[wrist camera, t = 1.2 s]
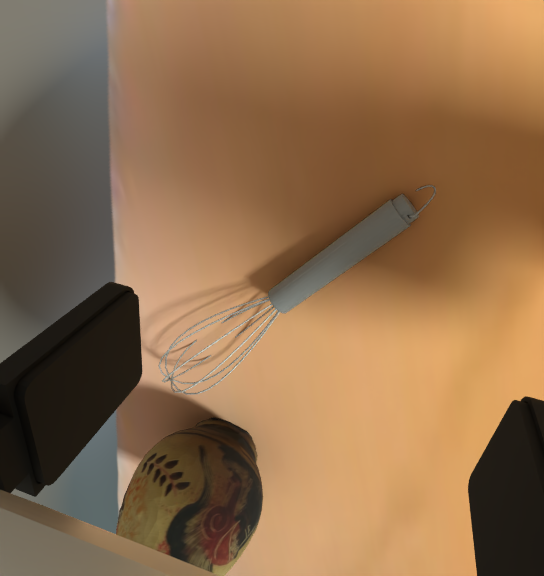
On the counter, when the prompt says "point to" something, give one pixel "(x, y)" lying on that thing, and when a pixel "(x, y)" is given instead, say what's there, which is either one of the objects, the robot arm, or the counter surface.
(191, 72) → the counter surface
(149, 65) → the counter surface
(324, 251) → the kitchen whisk
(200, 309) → the counter surface
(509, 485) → the robot arm
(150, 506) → the ceramic jug
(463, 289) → the counter surface
